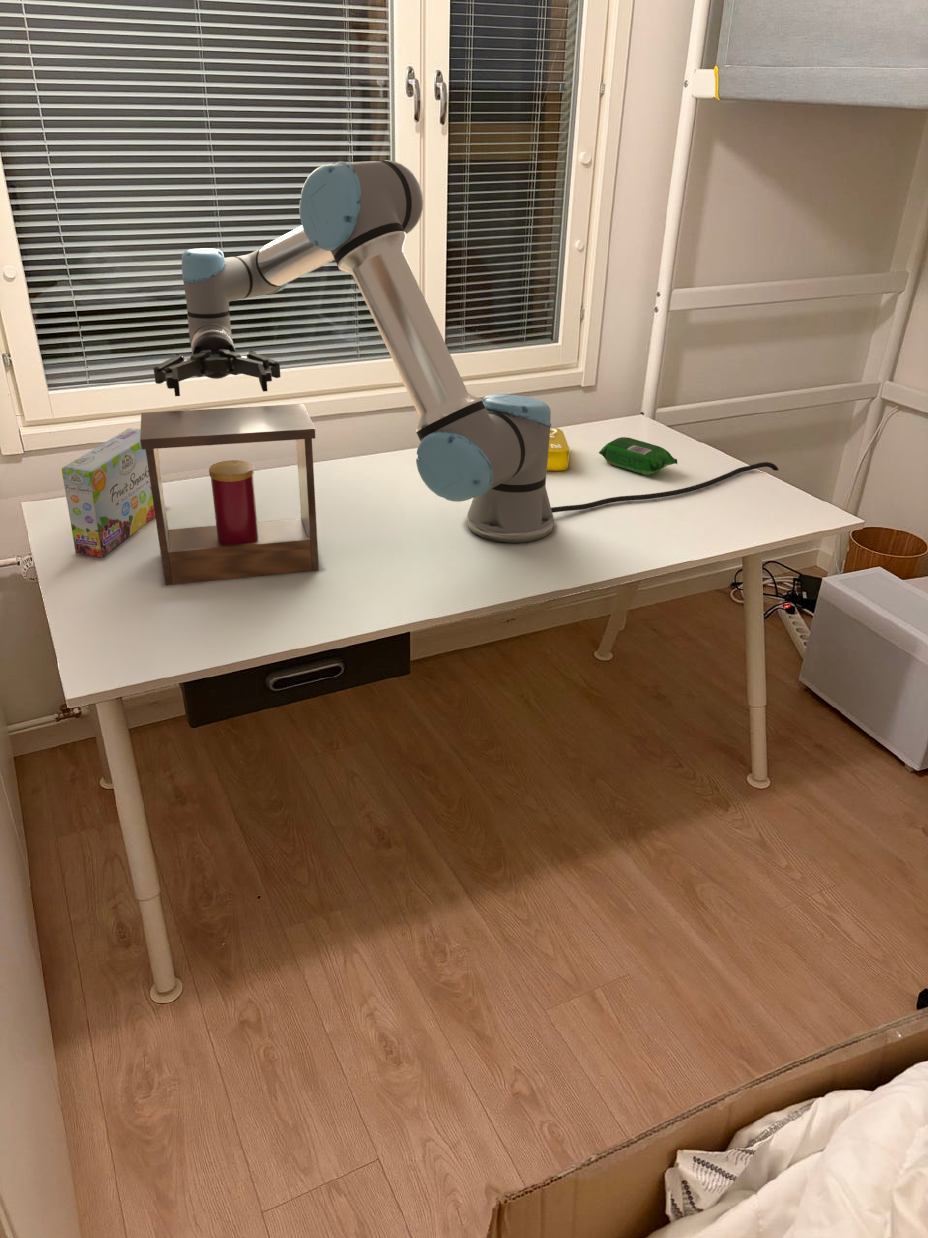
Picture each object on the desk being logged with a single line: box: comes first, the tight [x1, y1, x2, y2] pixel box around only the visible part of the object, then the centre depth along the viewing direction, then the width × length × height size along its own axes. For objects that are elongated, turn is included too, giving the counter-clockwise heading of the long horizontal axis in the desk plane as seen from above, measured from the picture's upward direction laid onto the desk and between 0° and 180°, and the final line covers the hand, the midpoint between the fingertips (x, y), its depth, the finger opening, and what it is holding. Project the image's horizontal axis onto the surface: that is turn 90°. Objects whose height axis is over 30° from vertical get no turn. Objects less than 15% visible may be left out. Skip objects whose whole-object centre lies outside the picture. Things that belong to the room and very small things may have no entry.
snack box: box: [61, 427, 162, 559], centre depth 157 cm, size 21×6×15 cm, turn 168°
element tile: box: [547, 427, 570, 472], centre depth 197 cm, size 15×15×5 cm
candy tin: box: [208, 459, 259, 545], centre depth 147 cm, size 7×7×12 cm
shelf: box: [140, 403, 320, 586], centre depth 147 cm, size 25×13×24 cm, turn 106°
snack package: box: [598, 436, 678, 476], centre depth 193 cm, size 7×16×5 cm, turn 46°
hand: (221, 385), depth 148 cm, fingers open, 13 cm apart
